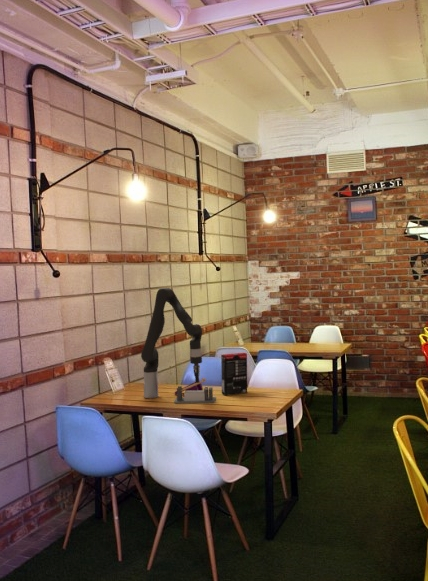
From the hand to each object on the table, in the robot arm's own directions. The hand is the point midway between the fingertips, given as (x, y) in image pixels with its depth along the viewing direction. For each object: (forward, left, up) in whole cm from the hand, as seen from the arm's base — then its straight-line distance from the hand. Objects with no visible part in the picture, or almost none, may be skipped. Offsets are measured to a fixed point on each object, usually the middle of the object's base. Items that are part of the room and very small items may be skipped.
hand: (197, 382), depth 370 cm
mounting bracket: (-9, +19, -13) cm, 25 cm away
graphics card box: (+23, +20, -12) cm, 33 cm away
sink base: (-2, 0, -12) cm, 12 cm away
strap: (-3, 0, -3) cm, 4 cm away
